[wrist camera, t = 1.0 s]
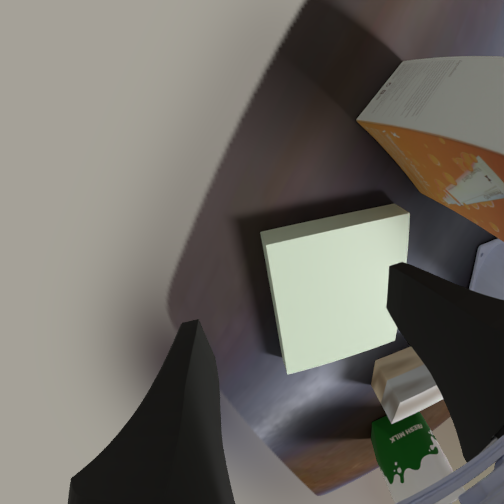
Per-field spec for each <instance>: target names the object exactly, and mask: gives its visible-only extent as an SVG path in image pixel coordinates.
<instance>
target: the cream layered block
mask: <svg viewBox="0 0 504 504" xmlns="http://www.w3.org/2000/svg"><path fill="white" fill-rule="evenodd" d="M371 386H372V388H373V390H374V391H375V393H376V395H377V397H378V399H379V401H380V403H381V405H382V407H383V409H384V411H385V412H386V414H387V416H388V418H389V420H390V422H391V424H393V423H395V422H397V421H400V420H402V419H404V418H406V417H408V416H410V415H412V414H415V413H417V412H419V411H421V410H423V409H425V408H427V407H429V406H430V405H432V404H434V403H436V402H438V401H440V400H442V399H443V397H442V395H441V392H440V390H439V388H438V387H437V385H436V383H435V381H434V379H433V377H432V375H431V374H430V372H429V370H428V369H427V367H426V366H425V365H424V363H423V362H422V360H421V359H420V358H419V356H418V355H417V354H416V352H415V351H414V350H413V348H412V347H411V346H410V347H408V348H406V349H403V350H401V351H398V352H396V353H393V354H391V355H388V356H385V357H383V358H380V359H377V360H375V365H374V371H373V376H372V381H371Z"/></svg>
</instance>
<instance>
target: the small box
mask: <svg viewBox="0 0 504 504" xmlns="http://www.w3.org/2000/svg"><path fill="white" fill-rule="evenodd" d="M356 121H357V122H358V123H359V124H360V125H361V126H362V127H363V128H364V129H365V130H366V131H367V132H368V133H369V134H370V135H371V136H372V137H373V138H374V139H375V140H376V141H377V142H378V143H379V144H380V145H381V146H382V147H383V148H384V149H385V150H386V151H387V153H388V154H389V155H390V156H391V157H392V158H393V159H394V160H395V162H396V163H397V164H398V165H399V166H400V168H401V169H402V170H403V171H404V172H405V174H406V175H407V176H408V177H409V179H410V180H411V181H412V182H413V184H414V185H415V186H416V188H417V189H418V190H419V192H420V193H422V194H424V195H425V196H427V197H429V198H431V199H433V200H435V201H437V202H438V203H440V204H442V205H444V206H446V207H448V208H450V209H451V210H453V211H455V212H457V213H458V214H460V215H462V216H463V217H465V218H467V219H468V220H470V221H472V222H473V223H475V224H477V225H478V226H480V227H481V228H483V229H485V230H486V231H488V232H489V233H491V234H492V235H494V236H495V237H497V238H499V239H500V240H501V241H503V242H504V57H496V56H457V57H438V58H427V59H416V60H408V61H403V62H402V63H401V64H400V65H399V67H398V68H397V69H396V70H395V71H394V73H393V74H392V75H391V76H390V78H389V79H388V80H387V81H386V83H385V84H384V85H383V86H382V88H381V89H380V90H379V91H378V93H377V94H376V95H375V96H374V98H373V99H372V100H371V101H370V103H369V104H368V105H367V107H366V108H365V109H364V110H363V112H362V113H361V114H360V115H359V116H358V118H357V119H356Z"/></svg>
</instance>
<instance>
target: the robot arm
mask: <svg viewBox="0 0 504 504" xmlns="http://www.w3.org/2000/svg"><path fill="white" fill-rule="evenodd" d="M386 308H387V310H388V312H389V314H390V316H391V317H392V319H393V321H394V323H395V324H396V326H397V328H398V329H399V331H400V332H401V333H402V335H403V336H404V337H405V339H406V340H407V341H408V343H409V344H410V345H411V347H412V348H413V350H414V351H415V352H416V354H417V355H418V356H419V358H420V359H421V360H422V362H423V363H424V365H425V366H426V367H427V369H428V370H429V372H430V374H431V375H432V377H433V379H434V381H435V383H436V385H437V387H438V388H439V390H440V392H441V395H442V397H443V399H444V401H445V403H446V405H447V408H448V410H449V412H450V415H451V418H452V420H453V423H454V426H455V428H456V431H457V435H458V438H459V441H460V445H461V448H462V453H463V456H464V458H465V460H466V462H467V463H466V464H465V465H463V466H462V467H460V468H459V469H457V470H456V471H454V472H452V473H451V474H449V475H448V476H446V477H444V478H443V479H441V480H439V481H438V482H436V483H434V484H432V485H431V486H429V487H427V488H425V489H423V490H422V491H420V492H418V493H416V494H414V495H412V496H410V497H408V498H406V499H404V500H402V501H400V502H398V503H396V504H435V503H436V502H438V501H440V500H441V499H443V498H445V497H446V496H448V495H450V494H451V493H453V492H454V491H456V490H457V489H459V488H460V487H462V486H463V485H465V484H466V483H468V482H469V481H471V480H472V479H473V478H475V477H476V476H478V475H479V474H480V473H482V472H483V471H484V470H486V469H487V468H488V467H489V466H491V465H492V464H493V463H494V462H496V463H495V468H494V470H493V472H491V473H490V474H489V475H487V476H486V477H485V478H483V479H482V480H481V481H479V482H478V483H477V484H475V485H474V486H472V487H471V488H470V489H468V490H467V491H465V492H464V493H462V494H461V495H459V497H458V499H459V501H460V503H461V504H504V242H503V241H501V240H500V239H499V238H498V239H495V240H492V241H490V242H487V243H485V244H482V245H480V246H479V247H478V250H477V255H476V260H475V265H474V269H473V274H472V278H471V282H470V286H469V289H467V288H464V287H462V286H459V285H457V284H454V283H452V282H449V281H447V280H445V279H442V278H440V277H438V276H435V275H433V274H431V273H429V272H426V271H424V270H422V269H419V268H417V267H415V266H412V265H409V264H407V263H404V262H400V263H397V264H394V265H391V266H389V277H388V292H387V304H386ZM68 504H235V501H234V497H233V493H232V489H231V485H230V480H229V475H228V471H227V466H226V461H225V455H224V449H223V443H222V435H221V414H220V391H219V378H218V372H217V366H216V360H215V356H214V354H213V352H212V349H211V347H210V345H209V343H208V340H207V338H206V336H205V333H204V331H203V328H202V326H201V324H200V321H199V319H197V320H193V321H189V322H184V323H182V324H181V326H180V328H179V330H178V333H177V335H176V337H175V339H174V342H173V344H172V346H171V348H170V351H169V353H168V355H167V357H166V359H165V361H164V363H163V365H162V367H161V369H160V371H159V373H158V375H157V377H156V379H155V380H154V382H153V384H152V386H151V388H150V389H149V391H148V393H147V395H146V396H145V398H144V399H143V401H142V402H141V404H140V406H139V407H138V409H137V410H136V411H135V413H134V414H133V416H132V417H131V418H130V420H129V421H128V422H127V423H126V425H125V426H124V427H123V428H122V430H121V431H120V432H119V434H118V435H117V436H116V437H115V438H114V439H113V441H111V443H110V444H109V445H108V446H107V447H106V448H105V449H104V450H103V451H102V452H101V453H100V454H99V455H98V456H97V457H96V458H95V459H94V460H93V461H91V462H90V463H89V464H88V465H87V466H86V467H85V468H83V469H82V470H81V471H80V472H78V473H77V474H76V475H75V476H74V477H72V478H71V482H70V490H69V498H68Z"/></svg>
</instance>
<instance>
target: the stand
mask: <svg viewBox="0 0 504 504" xmlns="http://www.w3.org/2000/svg"><path fill="white" fill-rule="evenodd" d="M409 222H410V213H409V212H407V211H406V210H404V209H403V208H401V207H399V206H398V205H396V204H390V205H385V206H380V207H375V208H370V209H365V210H360V211H355V212H350V213H346V214H341V215H336V216H331V217H327V218H322V219H317V220H312V221H308V222H303V223H299V224H294V225H289V226H285V227H280V228H276V229H271V230H267V231H262V232H260V234H261V240H262V245H263V251H264V256H265V262H266V267H267V273H268V279H269V284H270V290H271V296H272V301H273V307H274V313H275V318H276V324H277V330H278V336H279V341H280V347H281V353H282V358H283V362H284V365H285V368H286V371H287V375H288V374H292V373H296V372H299V371H303V370H307V369H310V368H314V367H317V366H321V365H324V364H327V363H331V362H334V361H337V360H340V359H344V358H347V357H350V356H353V355H356V354H359V353H362V352H365V351H367V350H370V349H373V348H376V347H379V346H381V345H384V344H387V343H389V342H392V341H395V338H396V332H397V326H396V324H395V323H394V321H393V319H392V317H391V316H390V314H389V312H388V310H387V308H386V304H387V292H388V277H389V266H391V265H394V264H397V263H400V262H404V263H407V252H408V239H409Z"/></svg>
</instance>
